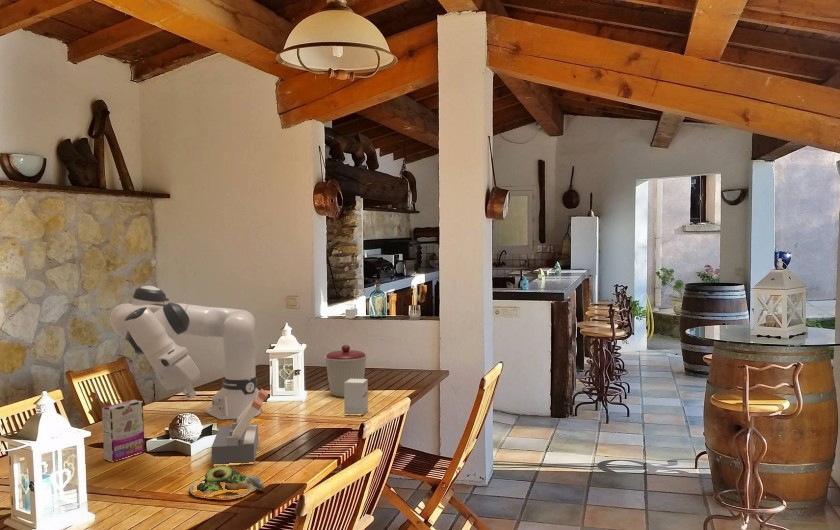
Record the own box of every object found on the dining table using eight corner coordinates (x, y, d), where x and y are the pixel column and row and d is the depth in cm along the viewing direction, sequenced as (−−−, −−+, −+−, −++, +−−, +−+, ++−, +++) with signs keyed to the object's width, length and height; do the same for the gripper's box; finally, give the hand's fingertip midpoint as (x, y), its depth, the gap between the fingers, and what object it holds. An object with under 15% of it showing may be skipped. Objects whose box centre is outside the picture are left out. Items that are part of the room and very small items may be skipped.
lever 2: (227, 441, 202) (254, 401, 203) (229, 436, 207) (255, 397, 208) (235, 445, 203) (261, 405, 204) (236, 440, 208) (262, 401, 209)
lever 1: (232, 426, 217) (260, 392, 218) (233, 422, 222) (261, 388, 223) (239, 431, 218) (267, 396, 219) (240, 427, 223) (268, 393, 224)
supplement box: (363, 416, 255) (362, 382, 255) (343, 415, 257) (343, 382, 256) (368, 411, 263) (368, 378, 262) (349, 410, 264) (349, 378, 264)
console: (211, 467, 201) (211, 438, 200) (220, 444, 223) (219, 418, 223) (254, 464, 203) (253, 436, 202) (258, 442, 225) (257, 416, 225)
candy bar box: (135, 450, 217) (133, 398, 217) (145, 453, 215) (143, 400, 214) (102, 460, 208) (101, 406, 207) (112, 463, 205) (111, 408, 204)
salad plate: (281, 483, 188) (281, 467, 188) (241, 508, 172) (241, 489, 172) (223, 474, 196) (223, 458, 195) (179, 497, 179) (179, 480, 179)
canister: (362, 388, 302) (361, 340, 301) (372, 397, 285) (372, 347, 284) (321, 391, 296) (320, 343, 295) (329, 401, 279) (328, 349, 278)
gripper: (144, 369, 207) (170, 406, 209) (169, 359, 192) (197, 399, 194) (161, 357, 211) (187, 394, 213) (188, 346, 196) (215, 386, 198)
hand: (192, 396), depth 203 cm, fingers closed
